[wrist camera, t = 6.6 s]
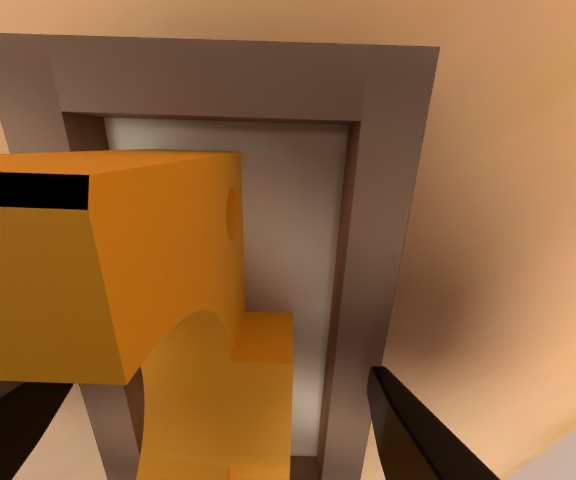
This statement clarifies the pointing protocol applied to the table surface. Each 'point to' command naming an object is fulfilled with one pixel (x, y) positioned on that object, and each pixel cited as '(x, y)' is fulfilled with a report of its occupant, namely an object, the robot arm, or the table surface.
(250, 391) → the pipe clamp
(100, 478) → the table surface
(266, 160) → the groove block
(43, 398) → the robot arm
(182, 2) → the table surface
